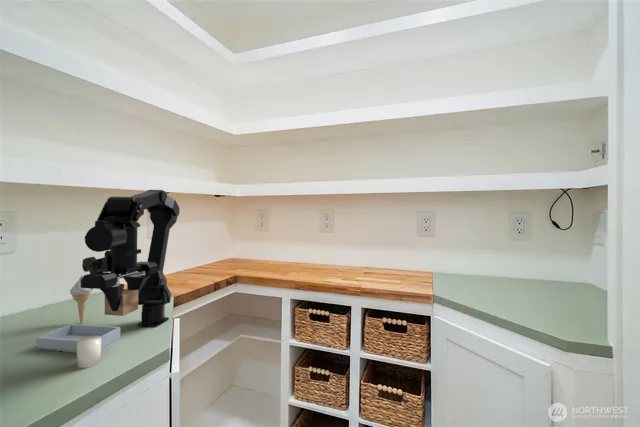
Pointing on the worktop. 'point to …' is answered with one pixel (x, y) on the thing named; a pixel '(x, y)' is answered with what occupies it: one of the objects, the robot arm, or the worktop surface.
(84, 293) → the ice cream cone
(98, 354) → the cream cylinder
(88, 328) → the grey blue tray
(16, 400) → the worktop surface
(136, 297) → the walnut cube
